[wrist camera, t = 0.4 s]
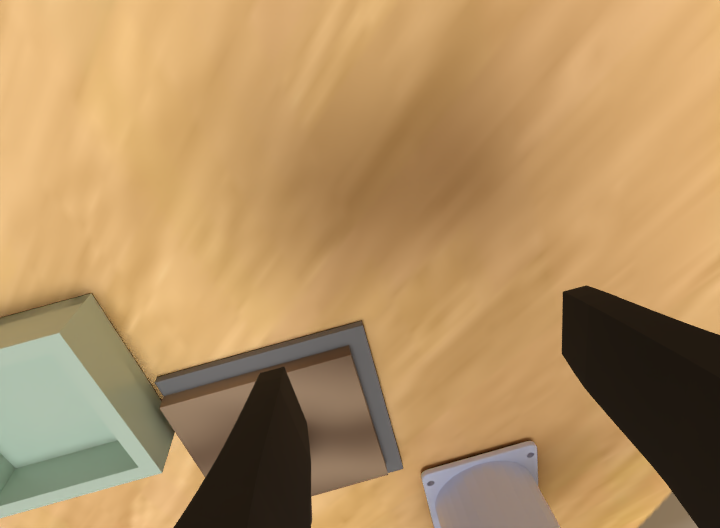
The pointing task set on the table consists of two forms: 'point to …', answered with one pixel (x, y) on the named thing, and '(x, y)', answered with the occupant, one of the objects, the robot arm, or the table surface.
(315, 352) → the mat
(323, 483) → the lid
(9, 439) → the dish
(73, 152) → the table surface
